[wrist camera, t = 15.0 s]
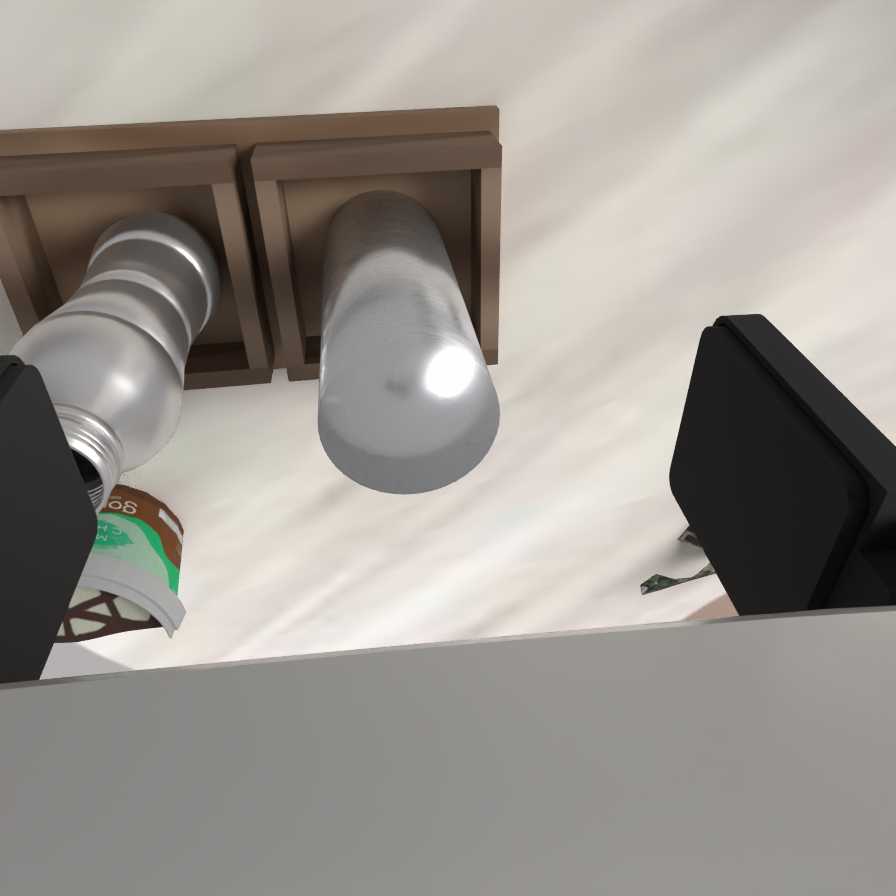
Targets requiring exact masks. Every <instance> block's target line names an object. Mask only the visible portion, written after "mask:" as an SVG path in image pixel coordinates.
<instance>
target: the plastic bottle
mask: <svg viewBox="0 0 896 896" xmlns="http://www.w3.org/2000/svg"><path fill="white" fill-rule="evenodd" d="M221 293H222V279H221V270H220V265H219V261H218V258H217V255H216V253H215V251H214V249H213V247H212V246H211V244H210V243H209V241H208V240H207V238H206V237H205V236H204V235H203V234H202V233H201V232H200V231H199V230H198V229H197V228H195V227H194V226H193V225H191V224H190V223H189V222H187V221H185V220H183V219H181V218H179V217H177V216H174V215H170V214H167V213H162V212H142V213H138V214H134V215H131V216H128V217H126V218H124V219H122V220H120V221H118V222H116V223H115V224H113V225H111V226H110V227H109V228H108V229H107V230H106V231H105V232H104V233H103V234H102V235H101V236H100V238H99V239H98V241H97V242H96V244H95V246H94V249H93V252H92V255H91V257H90V261H89V264H88V267H87V274H86V276H85V278H84V280H83V282H82V284H81V286H80V288H79V289H78V290H77V291H76V292H75V294H74V295H73V296H72V297H71V298H70V299H69V300H68V301H67V302H66V303H65V304H64V305H63V306H61V307H60V308H59V309H57V310H56V311H54V312H53V313H52V314H50V315H49V316H47V317H46V318H45V319H43V320H42V321H40V322H39V323H38V324H36V325H34V326H33V327H32V328H31V329H30V330H29V331H28V332H27V333H26V334H25V335H24V336H23V337H22V338H21V339H20V340H19V341H18V342H17V343H16V344H15V345H14V346H13V348H12V350H11V351H10V353H9V355H16V356H18V357H20V358H21V360H22V361H23V362H24V363H25V365H33V366H35V367H36V368H37V369H38V370H39V372H40V374H41V376H42V378H43V381H44V383H45V386H46V388H47V391H48V393H49V396H50V398H51V401H52V404H53V406H54V409H55V411H56V414H57V416H58V419H59V421H60V424H61V426H62V429H63V431H64V434H65V436H66V439H67V441H68V444H69V446H70V449H71V451H72V454H73V456H74V459H75V461H76V464H77V466H78V469H79V471H80V474H81V476H82V479H83V481H84V484H85V486H86V489H87V491H88V494H89V496H90V499H91V501H92V504H93V506H94V509H95V512H96V515H97V514H98V513H99V512H100V511H101V509H102V508H103V507H104V505H105V504H106V503H107V500H108V498H109V496H110V493H111V490H112V489H113V488H114V487H115V485H116V484H117V483H118V481H119V478H120V476H121V473H123V472H126V471H129V470H132V469H135V468H137V467H139V466H140V465H142V464H144V463H146V462H147V461H148V460H150V459H151V458H152V457H153V456H154V455H156V454H157V453H158V452H159V451H160V450H161V449H162V448H163V447H164V446H165V445H166V444H167V442H168V441H169V440H170V439H171V437H172V436H173V434H174V432H175V430H176V428H177V425H178V423H179V417H180V413H181V408H182V402H183V389H184V371H185V365H186V361H187V356H188V353H189V349H190V346H191V345H192V343H193V341H194V340H195V338H196V336H197V334H199V333H200V332H201V331H202V330H203V329H204V327H205V326H206V325H207V323H208V322H209V320H210V319H211V318H212V316H213V315H214V313H215V312H216V310H217V307H218V305H219V303H220V298H221Z"/></svg>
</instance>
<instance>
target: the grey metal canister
mask: <svg viewBox="0 0 896 896" xmlns="http://www.w3.org/2000/svg"><path fill="white" fill-rule="evenodd" d="M499 418H500V410H499V402H498V397H497V394H496V391H495V388H494V385H493V382H492V379H491V377H490V374H489V371H488V368H487V365H486V362H485V360H484V357H483V354H482V351H481V348H480V345H479V343H478V340H477V337H476V334H475V331H474V328H473V325H472V323H471V320H470V317H469V314H468V311H467V308H466V306H465V303H464V300H463V297H462V294H461V291H460V289H459V286H458V283H457V280H456V277H455V274H454V272H453V269H452V266H451V263H450V260H449V257H448V255H447V252H446V249H445V246H444V243H443V240H442V238H441V235H440V232H439V229H438V227H437V224H436V222H435V220H434V218H433V217H432V215H431V214H430V213H429V211H428V210H427V209H426V208H425V207H424V206H423V205H422V204H421V203H419V202H418V201H417V200H415V199H414V198H412V197H410V196H408V195H406V194H403V193H400V192H397V191H391V190H374V191H369V192H365V193H362V194H360V195H357V196H355V197H353V198H352V199H350V200H349V201H347V202H346V203H345V204H343V205H342V206H341V207H340V208H339V210H338V211H337V212H336V213H335V215H334V216H333V218H332V219H331V221H330V223H329V226H328V228H327V231H326V236H325V244H324V268H323V295H322V322H321V348H320V375H319V402H318V431H319V435H320V440H321V443H322V445H323V448H324V450H325V452H326V453H327V455H328V457H329V459H330V460H331V461H332V462H333V464H334V465H335V466H336V467H337V468H338V469H339V470H340V471H341V472H342V473H343V474H345V475H346V476H347V477H349V478H350V479H351V480H353V481H355V482H357V483H359V484H360V485H363V486H365V487H368V488H370V489H373V490H377V491H380V492H385V493H392V494H417V493H423V492H428V491H432V490H436V489H439V488H442V487H444V486H447V485H449V484H451V483H453V482H455V481H457V480H459V479H460V478H462V477H463V476H465V475H466V474H467V473H469V472H470V471H471V470H472V469H474V468H475V467H476V466H477V465H478V464H479V463H480V462H481V460H482V459H483V458H484V457H485V455H486V454H487V453H488V451H489V449H490V447H491V446H492V444H493V442H494V439H495V437H496V434H497V430H498V426H499Z"/></svg>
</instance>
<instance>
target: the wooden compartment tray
mask: <svg viewBox="0 0 896 896" xmlns="http://www.w3.org/2000/svg"><path fill="white" fill-rule="evenodd" d="M501 169H502V145H501V144H500V143H499V108H498V107H497V106H477V107H457V108H437V109H417V110H397V111H377V112H357V113H337V114H317V115H296V116H276V117H256V118H236V119H216V120H196V121H176V122H156V123H136V124H115V125H95V126H75V127H55V128H35V129H15V130H0V278H1V281H2V283H3V286H4V288H5V291H6V293H7V296H8V298H9V301H10V303H11V306H12V308H13V311H14V313H15V316H16V318H17V321H18V323H19V326H20V328H21V331H22V333H23V336H24V335H25V334H26V333H27V332H28V331H29V330H30V329H31V328H32V327H33V326H34V325H36V324H38V323H39V322H40V321H42V320H43V319H45V318H46V317H47V316H49V315H50V314H52V313H53V312H54V311H56V310H57V309H59V308H60V307H61V306H63V305H64V304H65V303H66V302H67V301H68V300H69V299H70V298H71V297H72V296H73V295H74V294H75V292H76V291H77V290H78V289H79V288H80V286H81V284H82V282H83V280H84V278H85V276H86V274H87V267H88V264H89V261H90V257H91V255H92V252H93V249H94V246H95V244H96V242H97V241H98V239H99V238H100V236H101V235H102V234H103V233H104V232H105V231H106V230H107V229H108V228H109V227H110V226H111V225H113V224H115V223H116V222H118V221H120V220H122V219H124V218H126V217H128V216H131V215H134V214H138V213H142V212H162V213H167V214H170V215H174V216H177V217H179V218H181V219H183V220H185V221H187V222H189V223H190V224H191V225H193V226H194V227H195V228H197V229H198V230H199V231H200V232H201V233H202V234H203V235H204V236H205V237H206V238H207V240H208V241H209V243H210V244H211V246H212V247H213V249H214V251H215V253H216V255H217V258H218V261H219V265H220V270H221V279H222V293H221V298H220V303H219V305H218V307H217V310H216V312H215V313H214V315H213V316H212V318H211V319H210V320H209V322H208V323H207V325H206V326H205V327H204V329H203V330H202V331H201V332H200V333H199V334H197V336H196V338H195V340H194V341H193V343H192V345H191V346H190V349H189V353H188V356H187V361H186V365H185V371H184V389H183V390H192V389H204V388H216V387H228V386H240V385H252V384H264V383H271V379H272V372H273V369H279V368H287V374H288V379H289V381H301V380H313V379H319V375H320V348H321V322H322V295H323V268H324V244H325V236H326V231H327V228H328V226H329V223H330V221H331V219H332V218H333V216H334V215H335V213H336V212H337V211H338V210H339V208H340V207H341V206H342V205H343V204H345V203H346V202H347V201H349V200H350V199H352V198H353V197H355V196H357V195H360V194H362V193H365V192H369V191H374V190H391V191H397V192H400V193H403V194H406V195H408V196H410V197H412V198H414V199H415V200H417V201H418V202H419V203H421V204H422V205H423V206H424V207H425V208H426V209H427V210H428V211H429V213H430V214H431V215H432V217H433V218H434V220H435V222H436V224H437V227H438V229H439V232H440V235H441V238H442V240H443V243H444V246H445V249H446V252H447V255H448V257H449V260H450V263H451V266H452V269H453V272H454V274H455V277H456V280H457V283H458V286H459V289H460V291H461V294H462V297H463V300H464V303H465V306H466V308H467V311H468V314H469V317H470V320H471V323H472V325H473V328H474V331H475V334H476V337H477V340H478V343H479V345H480V348H481V351H482V354H483V357H484V360H485V362H486V365H495V364H498V325H499V273H500V221H501Z"/></svg>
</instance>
